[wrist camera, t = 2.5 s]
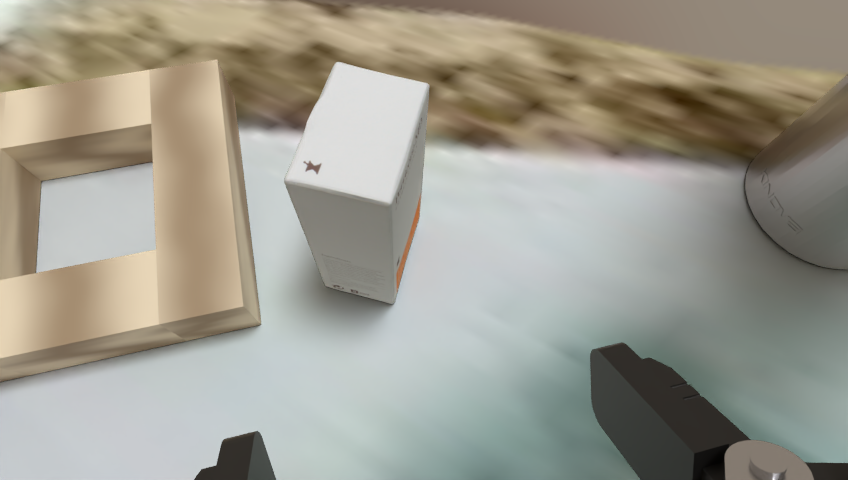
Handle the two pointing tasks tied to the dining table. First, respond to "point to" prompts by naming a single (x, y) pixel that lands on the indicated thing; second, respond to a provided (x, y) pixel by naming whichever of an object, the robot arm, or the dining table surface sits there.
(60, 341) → the socket block
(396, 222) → the skincare box
